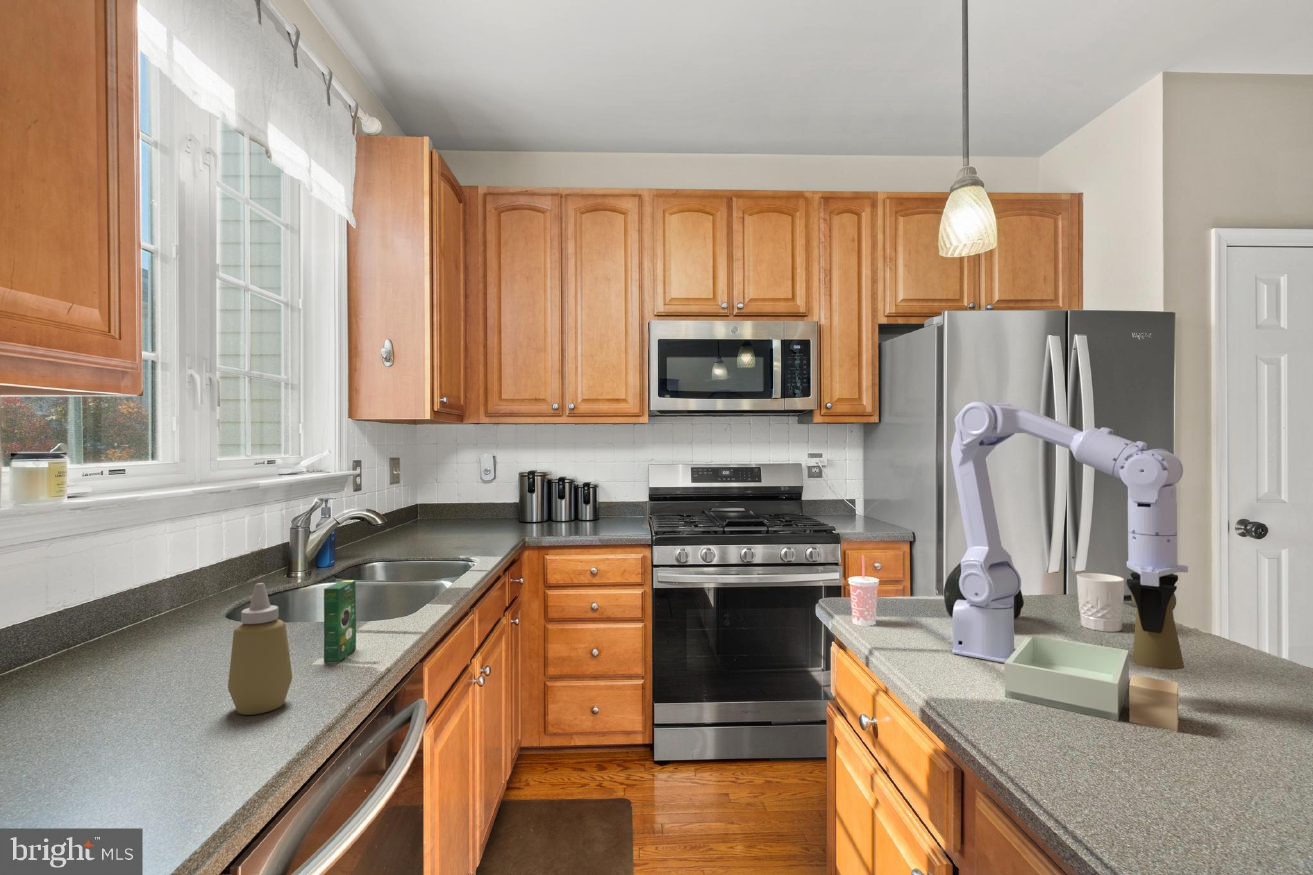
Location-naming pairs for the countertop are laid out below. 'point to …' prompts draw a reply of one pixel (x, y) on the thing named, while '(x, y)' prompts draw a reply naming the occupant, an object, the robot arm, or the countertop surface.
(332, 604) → the coffee box
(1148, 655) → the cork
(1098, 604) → the white cup
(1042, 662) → the tote
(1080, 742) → the countertop surface
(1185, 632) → the countertop surface
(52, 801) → the countertop surface
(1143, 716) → the maple cube
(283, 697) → the squeeze bottle
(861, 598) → the beverage cup
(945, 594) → the squash
